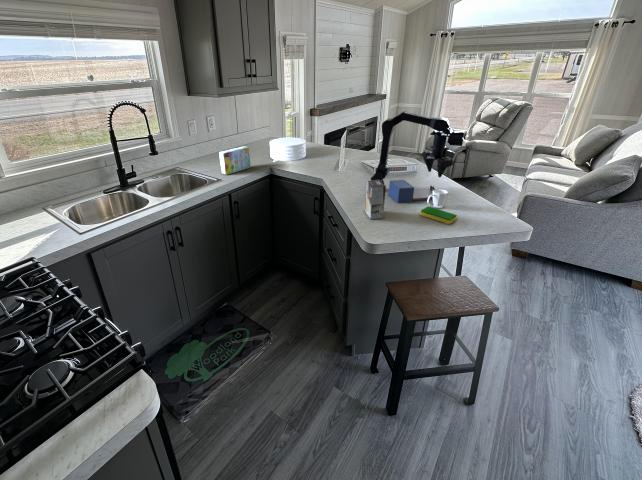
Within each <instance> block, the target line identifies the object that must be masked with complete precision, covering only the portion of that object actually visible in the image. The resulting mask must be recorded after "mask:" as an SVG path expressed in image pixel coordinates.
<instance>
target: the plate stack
mask: <svg viewBox="0 0 642 480" xmlns="http://www.w3.org/2000/svg"><path fill="white" fill-rule="evenodd" d="M306 143H307V141H306V139H304V138H301V137H292V136H291V137H288V136H287V137H278V138H274V139H271V140H270V141H269V154H270V155H269V156H270V159H273V160H275V161H281V162H289V161H290V162H291V161H299V160H302V159H305V158H306V156H307V150H306V149H307V144H306Z"/></svg>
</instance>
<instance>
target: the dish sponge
mask: <svg viewBox="0 0 642 480" xmlns="http://www.w3.org/2000/svg"><path fill="white" fill-rule="evenodd" d="M419 216H423V217H426V218H429V219H432V220H435V221H437V222H441V223H443V224H447V225H450V224H452V223H453V222H455V221H456V220H457V217H458V215H457V214H455V213H451V212H448V211H445V210H442V209H440V208H435V207H431V206H430V205H428V206H426V207H424V208H422V209H421V210H420V215H419Z"/></svg>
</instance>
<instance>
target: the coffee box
mask: <svg viewBox="0 0 642 480" xmlns="http://www.w3.org/2000/svg"><path fill="white" fill-rule="evenodd" d="M386 190H387V185H385V183H384V184H383V183H382V182H381V181H380V180H371V179H370V180H366V190H365V191H366V192H365V207H364V212H365V213H366V215H367V216H368V218H369V219H370V220H376V219H378V220H379V219H383V218H384V211H385V199H386Z"/></svg>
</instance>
